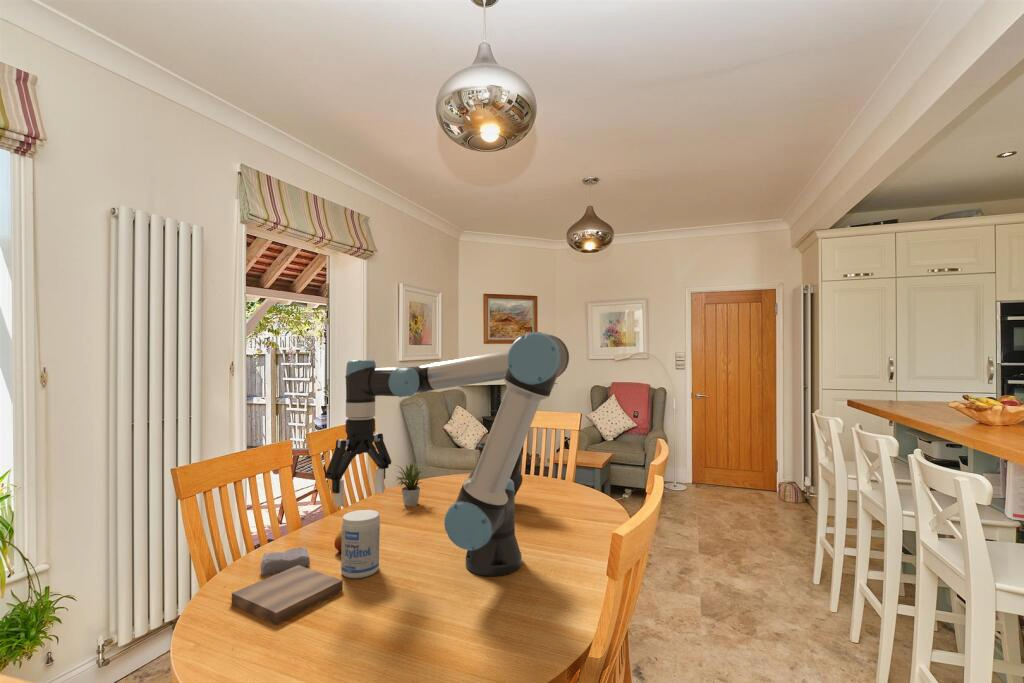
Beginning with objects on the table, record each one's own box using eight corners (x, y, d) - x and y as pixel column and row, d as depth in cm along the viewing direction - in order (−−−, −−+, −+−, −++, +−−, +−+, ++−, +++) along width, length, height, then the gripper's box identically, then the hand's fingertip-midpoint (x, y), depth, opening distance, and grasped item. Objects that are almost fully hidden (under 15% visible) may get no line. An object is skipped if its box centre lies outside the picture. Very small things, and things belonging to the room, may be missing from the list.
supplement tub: (342, 582, 119) (342, 523, 120) (340, 567, 128) (340, 512, 128) (382, 575, 123) (382, 517, 123) (377, 561, 132) (377, 507, 132)
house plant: (389, 500, 188) (389, 458, 189) (424, 496, 193) (424, 456, 193) (391, 511, 175) (391, 466, 175) (429, 507, 179) (429, 463, 180)
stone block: (260, 570, 131) (260, 577, 122) (261, 552, 132) (261, 557, 124) (307, 563, 136) (310, 569, 128) (307, 545, 138) (310, 550, 129)
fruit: (360, 552, 134) (347, 526, 135) (338, 565, 136) (325, 539, 137) (374, 541, 142) (361, 517, 143) (353, 553, 144) (341, 529, 145)
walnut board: (342, 590, 115) (342, 580, 115) (276, 624, 100) (276, 612, 101) (298, 574, 124) (298, 565, 124) (231, 604, 109) (231, 593, 109)
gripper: (385, 412, 139) (385, 485, 139) (310, 422, 118) (309, 509, 117) (404, 413, 136) (404, 489, 135) (330, 424, 114) (329, 514, 114)
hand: (360, 498), depth 126 cm, fingers open, 13 cm apart
